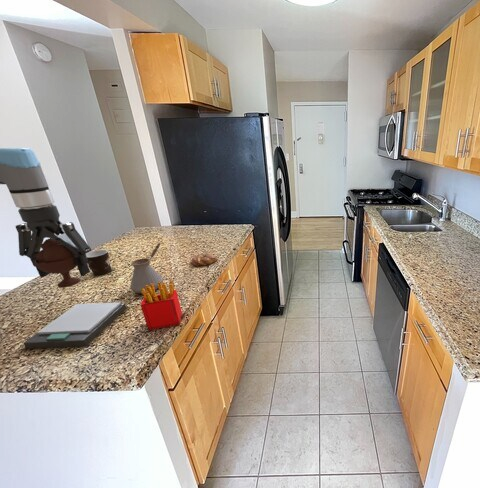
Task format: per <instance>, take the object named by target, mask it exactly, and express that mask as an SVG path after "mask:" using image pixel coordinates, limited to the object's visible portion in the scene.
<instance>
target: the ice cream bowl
mask: <svg viewBox="0 0 480 488" xmlns="http://www.w3.org/2000/svg"><path fill="white" fill-rule="evenodd" d="M78 252H79V251H78ZM75 256H76V255H75V254H74V253H72V252H71V251H70V250H69V249H68V248H66V247H65V246H64V245H63V244H62V243H60V242H59V241H58V240H55V239H53V238H47V239H44V240H43V243H42V245H41V249H40V251H39V253H37V256H36V257H37V258H36V259H34V260H33V263H34V264H35V266H36V267H37V268H38V269H40V270H41V271H44V272H47V273H50V274H54V275H55V274H56V275H57V274H58V275H59V274H60V275H61V276H62V280H61V281H60V282H58V283H57V288H63V289H64V288H69V287H72V286H75V285H78V284H79V283H80V282H81V281H82V280H81V279H80V278H79V277H74V276H71V274H70V272H71V271H73V270H74V269H75V268H76V267H77V265H76V262H75V260H74V257H75ZM33 263H32V264H33ZM36 267H35V268H36Z"/></svg>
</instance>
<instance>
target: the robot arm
mask: <svg viewBox="0 0 480 488" xmlns="http://www.w3.org/2000/svg"><path fill="white" fill-rule="evenodd" d="M0 185H6V187H7V189H8V191H9V194H10V196H11V198H12V201H13V203H14V205H15V207H16V208H18V214H19V216H20V218H21V220H22V222H24V223H20V224H17V225H15V229H16V232H17V237H18V253H19V256H21V257H24V256H25V257H27V258H29V260H30V262H31V264H32V266H33V267H35V269H36V271H37V273H38V275H39V277H40V278H44V277H46V276H49V275H50V274H51V273H47V272H44V271H41V270H40V269H38V268H37V267H36V266H35V264H34V263H33V260H34V259H36V258H37V257H36V256H37V253H39V251H41V250H42V248H41V245H42V244H43V243H44V241H45V239H46V238H47V239H50V238H53V239H55V240H58V241H59V242H60V243H62V244H63V245H64V246H65V247H66V248H68V249H69V250H70V251H71V252H72V253H74V254H75V255H76V256H75V257H74V260H75V262H76V265H77V266H76V267H77V270H78V273H79V275H80V277H84V276H86V275H87V274H90V273H91V269H90V268H89V265H88V259H87V257H86V253H89V252H92V248H91V246H90V245H89V244H88V243H87V242H86V240H85V239H84V238H83V237H82V235H81V234H80V232H78V230H77V229H76V226H75V224H74V222H73V221H69V222H61V221H60V216H61V215H60V212H59V209H58V207H57V205H55V204H54V203H55V199H54V198H53V195H52V192H51V190H50V188H49V184H48V182H47V179H46V176H45V174H44V171H43V168H42V166H41V162H40V161H39V160H38V157H37V155H36V154H35V151H34V150H32V149H31V148H28V147H3V148H2V147H1V148H0ZM78 251H79V252H78Z"/></svg>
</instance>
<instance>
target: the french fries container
mask: <svg viewBox="0 0 480 488" xmlns="http://www.w3.org/2000/svg"><path fill="white" fill-rule="evenodd" d="M150 286H151V287H149V286H148V285H146V286H145V288H146V291H145V289H141V292H142V293H143V294H142V296H143V299H142V301H141V303H140V309H141V311H142V314H143V319H144V321H145V324H146V327H147V330H148V331H154V330H158V329H162V328H168V327H172V326H177V325H178V326H179V325H180V324H181V321H182V316H183V313H182V308H181V307H182V306H181V303H180V298H179V295H178V291H177V289H175V285H174V280H170V281H169V284H168V287H167V284H166V283H162V284H161V282H158V291H159V294H156V290H155V288H154V284H150ZM168 291H169V292H168Z"/></svg>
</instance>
